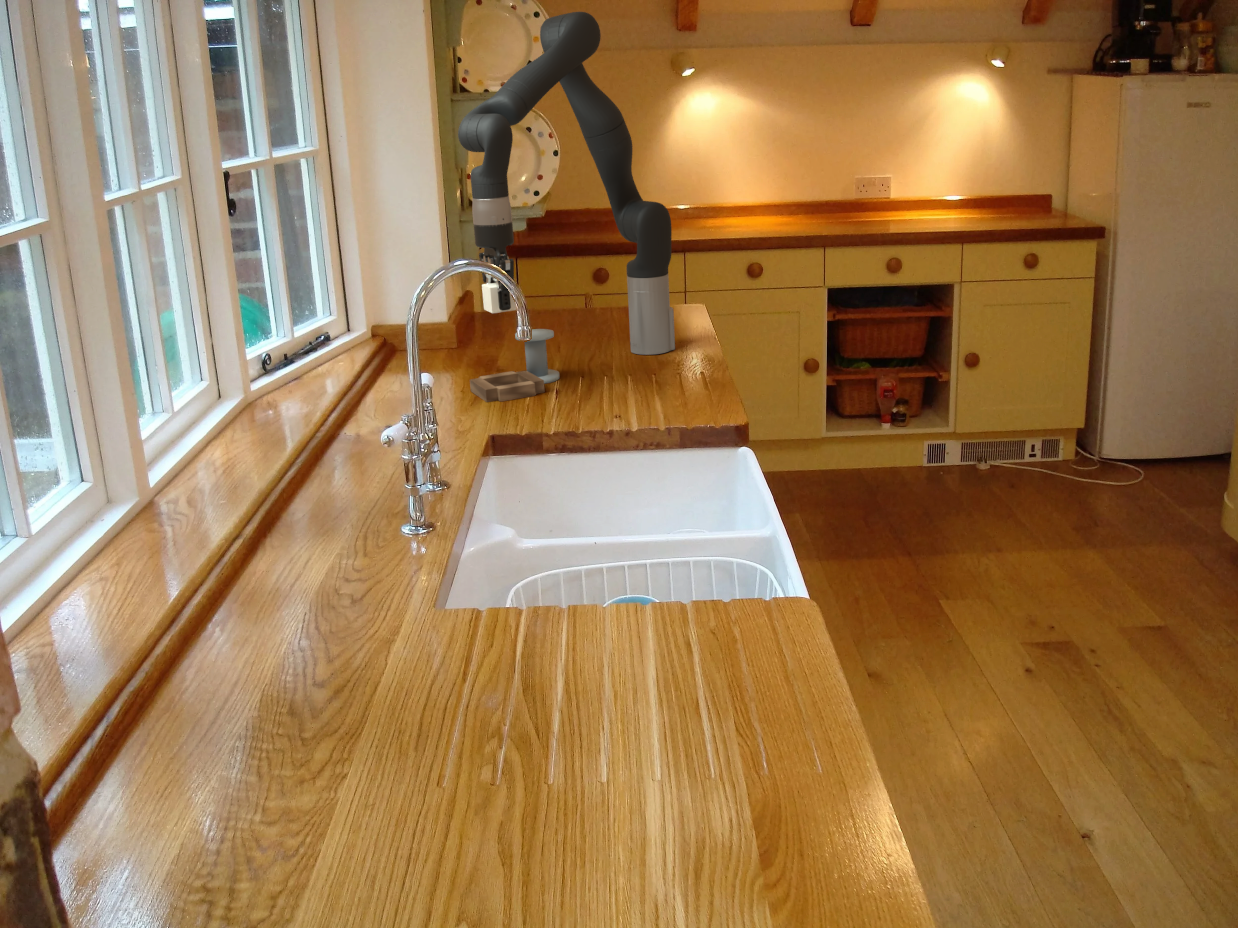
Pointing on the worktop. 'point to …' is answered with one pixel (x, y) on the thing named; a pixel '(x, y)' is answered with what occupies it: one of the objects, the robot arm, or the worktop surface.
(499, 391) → the tray
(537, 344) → the bobbin
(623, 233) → the robot arm
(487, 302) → the block
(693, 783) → the worktop surface
